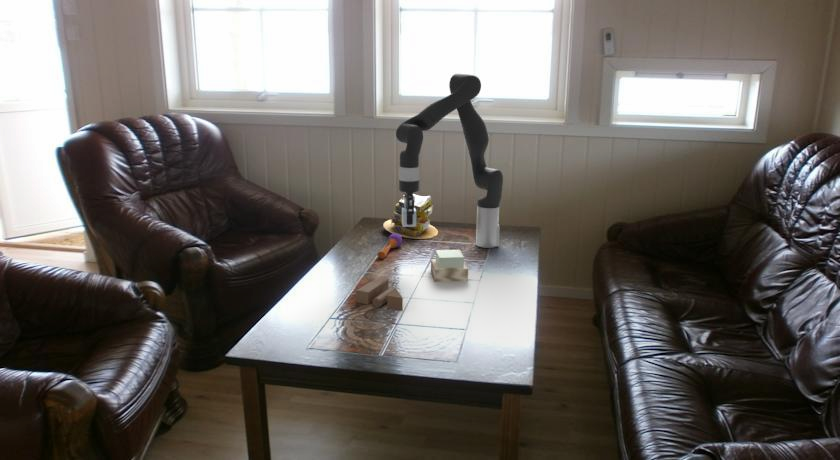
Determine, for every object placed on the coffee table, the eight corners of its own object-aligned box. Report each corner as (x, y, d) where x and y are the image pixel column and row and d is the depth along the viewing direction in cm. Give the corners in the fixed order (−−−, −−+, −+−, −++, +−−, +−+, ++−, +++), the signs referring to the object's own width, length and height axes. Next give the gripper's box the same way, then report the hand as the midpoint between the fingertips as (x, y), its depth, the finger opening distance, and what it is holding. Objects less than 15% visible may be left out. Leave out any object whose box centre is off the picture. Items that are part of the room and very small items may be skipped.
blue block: (414, 222, 252) (414, 207, 250) (416, 226, 247) (416, 211, 245) (401, 223, 251) (401, 208, 250) (402, 226, 246) (402, 211, 245)
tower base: (461, 271, 250) (462, 258, 249) (467, 282, 239) (468, 269, 237) (430, 271, 249) (431, 259, 247) (434, 282, 237) (435, 269, 236)
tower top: (459, 259, 247) (459, 249, 246) (463, 267, 239) (464, 257, 238) (435, 260, 246) (435, 250, 245) (439, 268, 238) (439, 257, 237)
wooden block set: (354, 288, 215) (380, 271, 231) (354, 304, 217) (380, 287, 232) (401, 296, 208) (424, 279, 224) (401, 313, 210) (423, 294, 226)
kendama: (372, 248, 261) (389, 232, 279) (376, 262, 263) (392, 245, 281) (386, 247, 259) (402, 230, 277) (389, 261, 261) (405, 244, 279)
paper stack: (448, 231, 302) (449, 195, 297) (417, 243, 282) (417, 205, 278) (405, 222, 316) (405, 188, 311) (372, 233, 296) (372, 197, 291)
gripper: (421, 182, 238) (420, 227, 242) (417, 174, 251) (416, 217, 256) (400, 182, 237) (400, 228, 242) (397, 174, 251) (397, 217, 255)
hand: (408, 222), depth 249 cm, fingers closed on blue block, 5 cm apart
